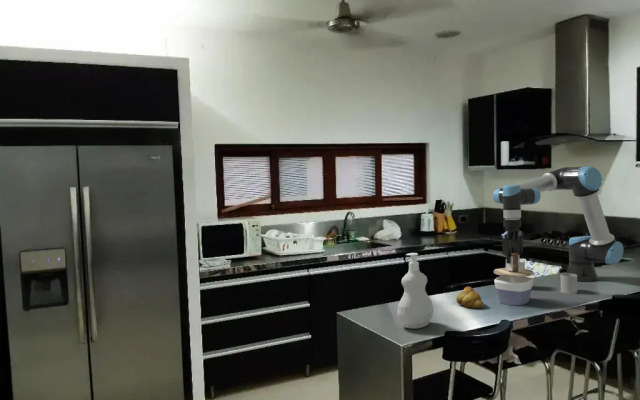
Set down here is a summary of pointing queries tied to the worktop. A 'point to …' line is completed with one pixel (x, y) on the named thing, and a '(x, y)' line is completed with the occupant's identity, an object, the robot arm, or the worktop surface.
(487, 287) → the worktop surface
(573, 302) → the mat
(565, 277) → the cup
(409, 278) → the soap bottle
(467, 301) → the bread roll
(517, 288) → the bowl
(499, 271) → the lid
